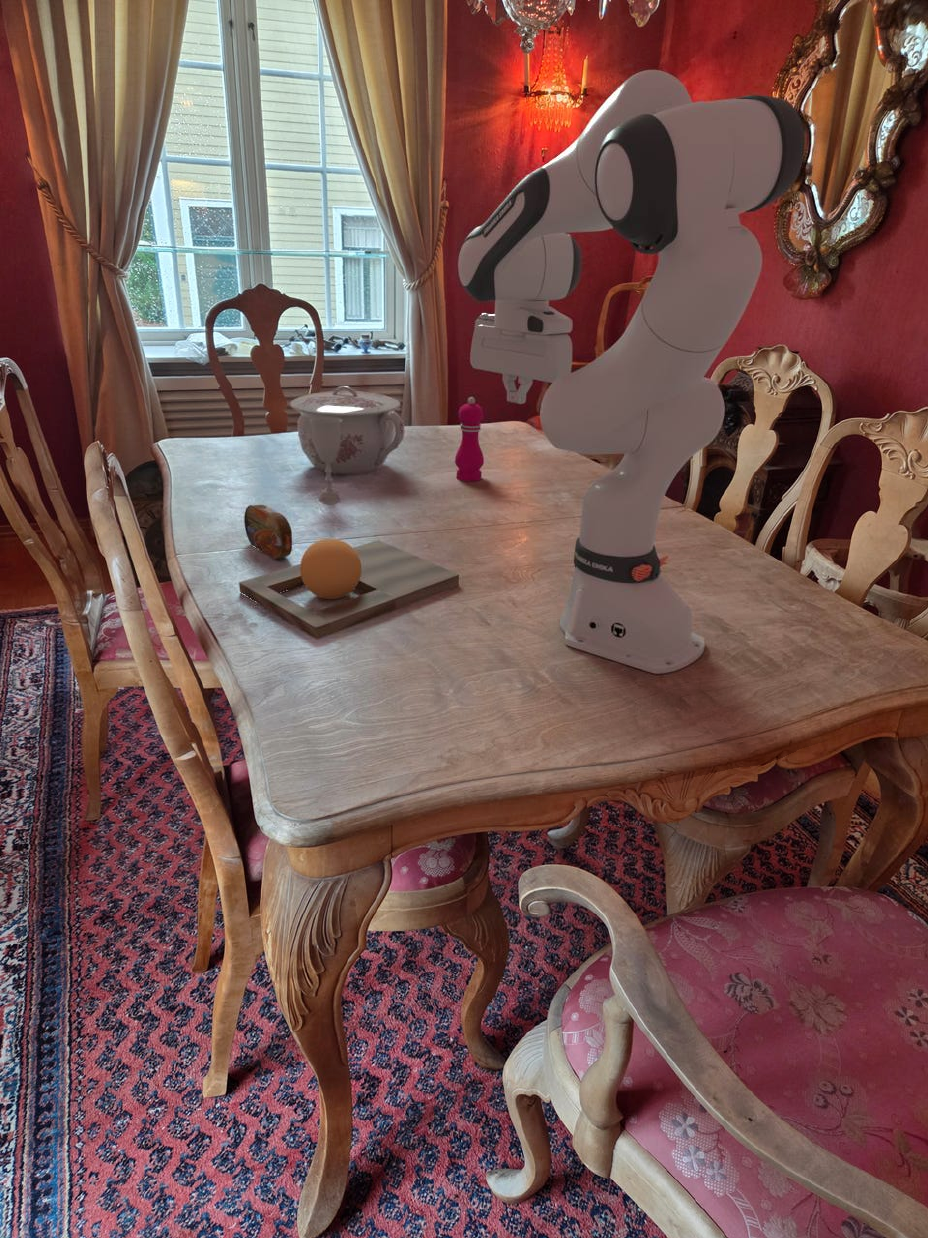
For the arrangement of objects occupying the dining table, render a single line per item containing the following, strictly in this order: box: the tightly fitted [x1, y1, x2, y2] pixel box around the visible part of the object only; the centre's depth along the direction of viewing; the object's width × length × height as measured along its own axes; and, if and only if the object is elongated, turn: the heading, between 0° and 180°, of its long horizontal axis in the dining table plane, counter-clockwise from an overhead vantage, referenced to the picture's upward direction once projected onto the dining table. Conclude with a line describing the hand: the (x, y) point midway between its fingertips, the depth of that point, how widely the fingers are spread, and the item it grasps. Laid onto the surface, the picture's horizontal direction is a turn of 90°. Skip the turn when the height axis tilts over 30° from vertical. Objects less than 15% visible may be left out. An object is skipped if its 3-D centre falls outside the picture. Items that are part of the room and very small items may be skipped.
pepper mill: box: [454, 396, 485, 482], centre depth 188 cm, size 7×7×20 cm
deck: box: [238, 539, 460, 640], centre depth 131 cm, size 22×30×2 cm
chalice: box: [309, 417, 342, 504], centre depth 170 cm, size 7×7×18 cm
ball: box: [299, 538, 361, 600], centre depth 126 cm, size 10×10×10 cm
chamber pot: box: [289, 385, 405, 476], centre depth 193 cm, size 28×28×21 cm
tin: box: [243, 504, 293, 560], centre depth 144 cm, size 15×3×8 cm, turn 40°
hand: (516, 402), depth 133 cm, fingers closed
